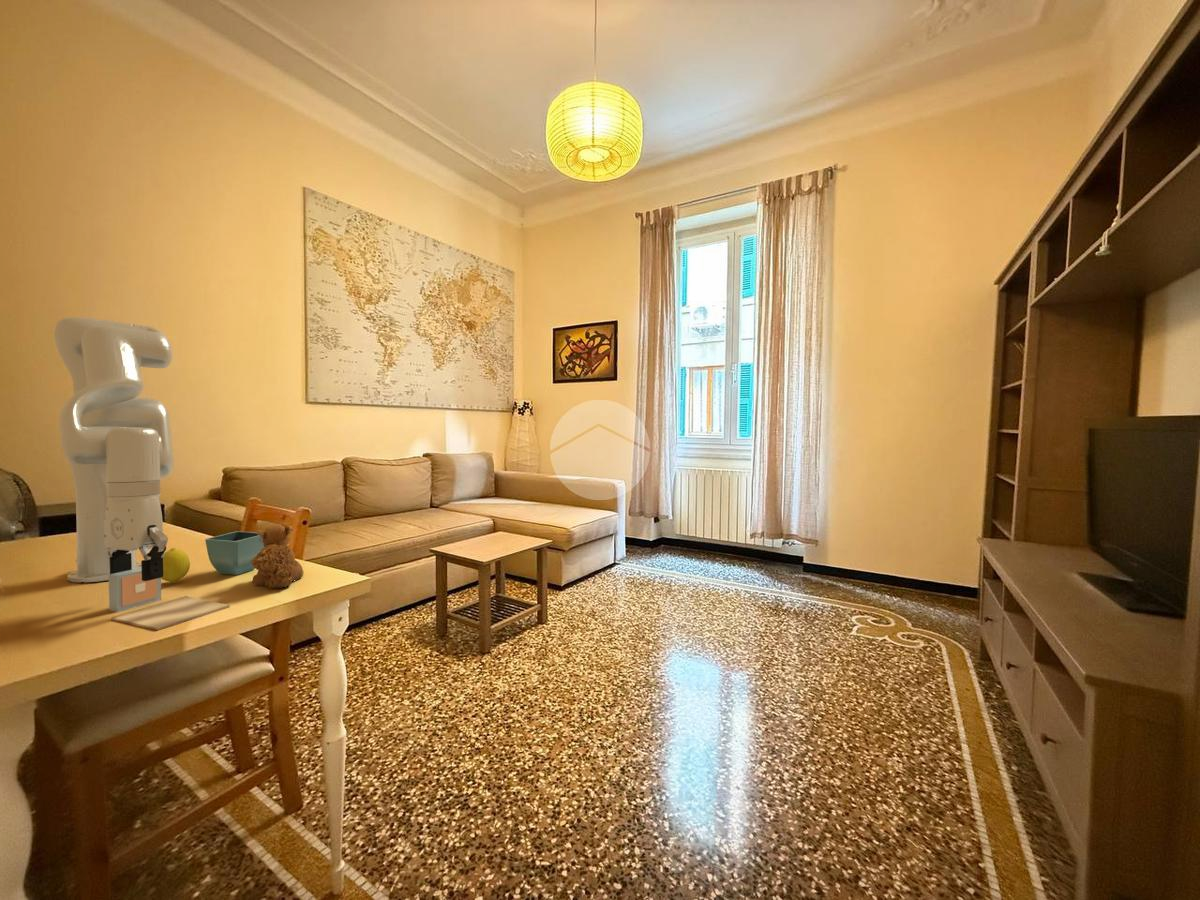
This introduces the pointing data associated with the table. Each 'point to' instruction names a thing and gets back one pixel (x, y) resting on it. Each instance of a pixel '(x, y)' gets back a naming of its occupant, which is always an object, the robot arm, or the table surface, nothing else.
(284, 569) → the brown fuzzy figure
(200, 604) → the cork mat
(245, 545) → the flower pot
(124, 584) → the tile
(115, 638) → the table surface
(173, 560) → the lemon
